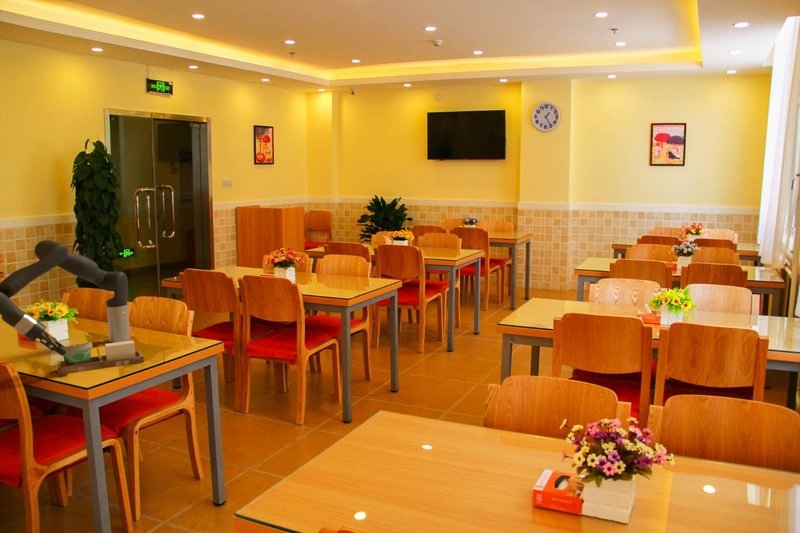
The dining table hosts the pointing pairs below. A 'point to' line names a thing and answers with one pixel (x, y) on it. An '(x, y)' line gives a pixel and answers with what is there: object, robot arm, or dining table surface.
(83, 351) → the food container
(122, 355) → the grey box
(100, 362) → the rack
